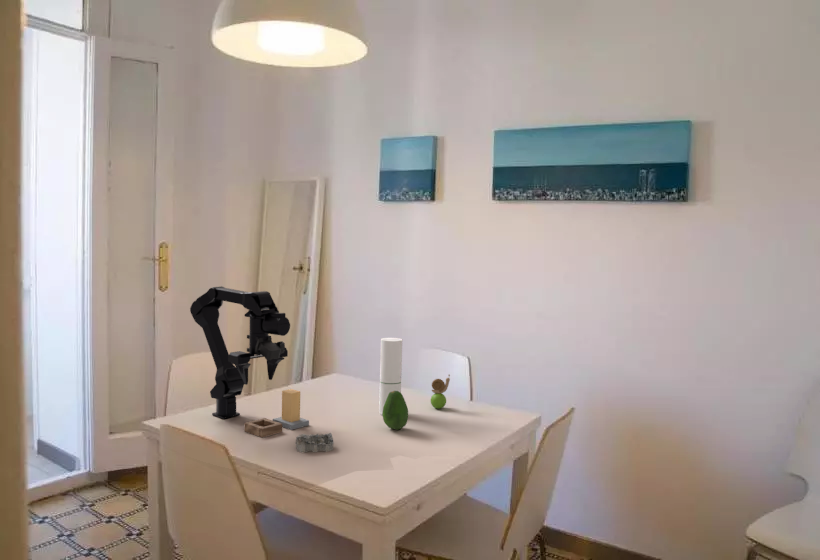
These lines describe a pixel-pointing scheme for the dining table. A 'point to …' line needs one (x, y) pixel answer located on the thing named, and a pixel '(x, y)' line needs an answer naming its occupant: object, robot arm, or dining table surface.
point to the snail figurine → (439, 393)
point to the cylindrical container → (390, 368)
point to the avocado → (395, 411)
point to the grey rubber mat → (292, 423)
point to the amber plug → (291, 405)
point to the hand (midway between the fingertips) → (258, 382)
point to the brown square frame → (263, 427)
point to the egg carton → (314, 442)
